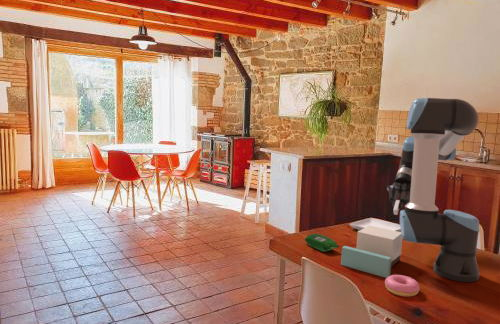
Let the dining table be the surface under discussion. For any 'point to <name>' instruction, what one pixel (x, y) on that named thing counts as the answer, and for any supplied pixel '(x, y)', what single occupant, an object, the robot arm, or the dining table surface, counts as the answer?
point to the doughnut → (402, 285)
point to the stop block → (366, 261)
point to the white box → (380, 241)
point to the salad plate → (375, 224)
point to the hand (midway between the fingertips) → (395, 212)
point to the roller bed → (395, 261)
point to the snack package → (321, 242)
